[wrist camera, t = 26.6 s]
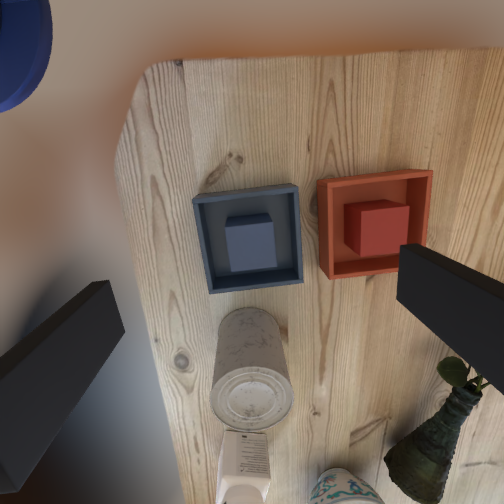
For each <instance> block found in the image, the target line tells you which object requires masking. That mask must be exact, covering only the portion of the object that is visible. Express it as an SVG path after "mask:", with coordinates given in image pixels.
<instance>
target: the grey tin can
mask: <svg viewBox="0 0 504 504" xmlns="http://www.w3.org/2000/svg"><path fill="white" fill-rule="evenodd" d="M293 403H294V392H293V388H292V385H291V382H290V378H289V373H288V369H287V364H286V360H285V356H284V351H283V347H282V342H281V338H280V333H279V327H278V324H277V322H276V321H275V319H274V318H273V317H272V316H271V315H270V314H269V313H267V312H265V311H263V310H261V309H258V308H242V309H238V310H236V311H234V312H232V313H230V314H229V315H228V316H226V317H225V318H224V320H223V321H222V322H221V324H220V327H219V331H218V343H217V351H216V359H215V367H214V375H213V383H212V390H211V393H210V407H211V410H212V412H213V414H214V415H215V417H216V418H217V419H218V420H219V421H220V422H221V423H223V424H224V425H225V426H227V427H229V428H232V429H235V430H238V431H245V432H256V431H262V430H266V429H269V428H271V427H273V426H276V425H277V424H278V423H280V422H281V421H283V420H284V419H285V418H286V417H287V416H288V414H289V412H290V411H291V409H292V406H293Z"/></svg>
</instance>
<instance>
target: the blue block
mask: <svg viewBox="0 0 504 504" xmlns="http://www.w3.org/2000/svg"><path fill="white" fill-rule="evenodd" d="M225 234H226V241H227V247H228V254H229V261H230V267H231V272H236V271H244V270H252V269H261V268H269V267H277V261H276V249H275V238H274V227H273V221H272V219H271V217H270V215H269V213H262V214H254V215H245V216H237V217H229V218H227V220H226V224H225Z"/></svg>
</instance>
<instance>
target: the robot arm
mask: <svg viewBox="0 0 504 504" xmlns="http://www.w3.org/2000/svg"><path fill="white" fill-rule="evenodd" d="M1 25H2V9H1V1H0V32H1ZM396 299H397V300H398V301H399V302H400V303H401V304H402V305H403V306H404V307H406V308H407V309H408V310H409V311H410V312H411V313H412V314H413V315H414V316H416V317H417V318H418V319H419V320H420V321H421V322H422V323H423V324H425V325H426V326H427V327H428V328H429V329H430V330H431V331H432V332H434V333H435V334H436V335H437V336H438V337H439V338H440V339H441V340H442V341H444V342H445V343H446V344H447V345H448V346H449V347H450V348H451V349H453V350H454V351H455V352H456V353H457V354H458V355H459V356H460V357H462V358H463V359H464V360H465V361H466V362H467V363H468V364H469V365H470V366H472V367H473V368H474V369H475V370H476V371H477V372H478V373H479V374H481V375H482V376H483V377H484V378H485V379H486V380H487V381H488V382H490V383H491V384H492V385H493V386H494V387H495V388H496V389H497V390H498V391H500V392H501V393H502V394H503V395H504V284H503V283H501V282H499V281H497V280H495V279H493V278H491V277H488V276H486V275H484V274H482V273H480V272H478V271H476V270H473V269H471V268H469V267H467V266H465V265H463V264H461V263H459V262H456V261H454V260H452V259H450V258H448V257H446V256H444V255H442V254H439V253H437V252H435V251H433V250H431V249H429V248H427V247H424V246H422V245H420V244H418V243H412V244H404V245H400V252H399V267H398V282H397V296H396ZM124 333H125V330H124V326H123V323H122V320H121V317H120V313H119V311H118V307H117V304H116V301H115V298H114V294H113V291H112V288H111V285H110V281H109V280H104V281H96V282H92V283H90V284H89V285H88V286H87V287H85V288H84V289H83V290H82V291H80V292H79V293H78V294H77V295H76V296H74V297H73V298H72V299H71V300H69V301H68V302H67V303H66V304H65V305H63V306H62V307H61V308H60V309H59V310H58V311H56V312H55V313H54V314H52V315H51V316H50V317H49V318H48V319H46V320H45V321H44V322H43V323H42V324H40V325H39V326H38V327H37V328H36V329H34V330H33V331H32V332H31V333H29V334H28V335H27V336H26V337H24V338H23V339H22V340H21V341H20V342H19V343H17V344H16V345H15V346H14V347H12V348H11V349H10V350H9V351H7V352H6V353H5V354H4V355H3V356H1V357H0V494H5V493H13V492H18V491H19V490H20V488H21V487H22V485H23V484H24V482H25V481H26V479H27V478H28V476H29V475H30V474H31V472H32V471H33V469H34V468H35V466H36V465H37V463H38V462H39V460H40V459H41V457H42V456H43V454H44V453H45V451H46V449H47V448H48V447H49V445H50V443H51V442H52V441H53V439H54V438H55V436H56V435H57V433H58V432H59V430H60V428H61V427H62V426H63V424H64V423H65V421H66V419H67V418H68V417H69V415H70V414H71V412H72V411H73V409H74V408H75V406H76V405H77V403H78V402H79V400H80V399H81V397H82V396H83V394H84V393H85V391H86V390H87V388H88V387H89V385H90V384H91V382H92V381H93V379H94V378H95V376H96V375H97V373H98V372H99V370H100V369H101V367H102V366H103V364H104V363H105V361H106V360H107V358H108V357H109V356H110V354H111V353H112V351H113V349H114V348H115V346H116V345H117V343H118V342H119V341H120V339H121V338H122V336H123V334H124Z"/></svg>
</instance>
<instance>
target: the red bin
mask: <svg viewBox="0 0 504 504" xmlns="http://www.w3.org/2000/svg"><path fill="white" fill-rule="evenodd" d="M432 175H433V170H420V169H406V170H397V171H389V172H381V173H372V174H364V175H355V176H347V177H339V178H330V179H322V180H317V201H318V231H319V260H320V268H321V269H322V271H323V272H324V273H325V275H326V276H327V277H328V279H329V280H333V279H341V278H349V277H358V276H366V275H374V274H383V273H391V272H398V267H399V252H397V253H389V254H380V255H372V256H363V257H360V256H359V255H358V254H356V253H355V252H354V251H353V250H351V249H350V248H349V247H348V246H346V245H345V244H344V204H348V203H356V202H365V201H373V200H382V199H386V200H390V201H394V202H397V203H401V204H405V205H408V206H410V207H409V220H408V233H407V244H412V243H418V244H420V245H422V246H424V247H426V238H427V228H428V218H429V208H430V198H431V188H432V178H433V176H432Z"/></svg>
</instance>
